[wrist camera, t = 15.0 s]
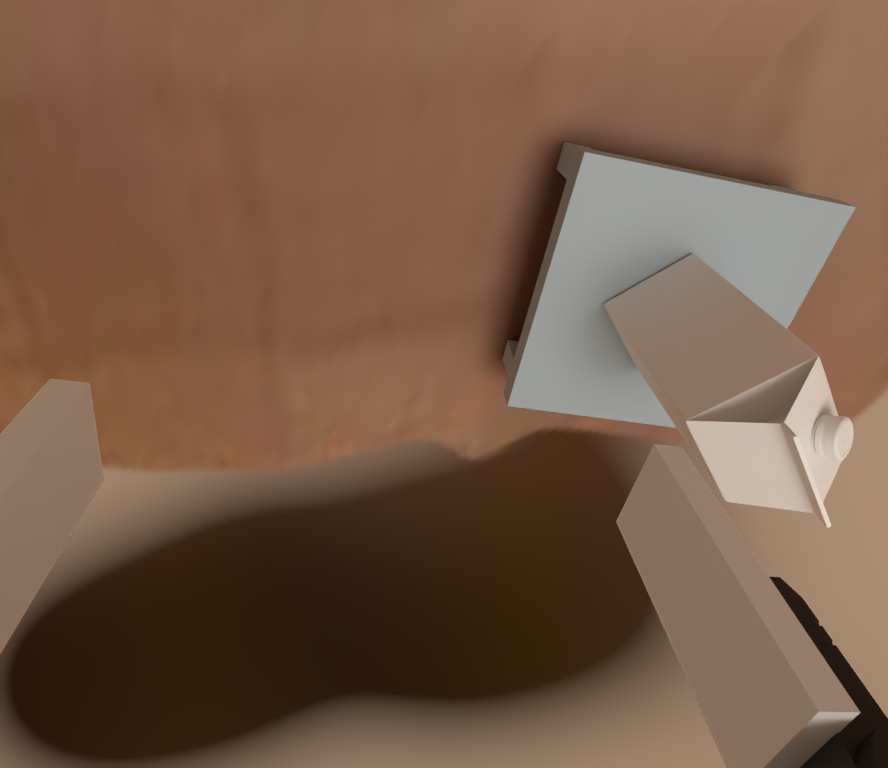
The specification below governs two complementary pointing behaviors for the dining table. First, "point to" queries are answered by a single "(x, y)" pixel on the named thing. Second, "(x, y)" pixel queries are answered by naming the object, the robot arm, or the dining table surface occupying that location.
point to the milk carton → (735, 387)
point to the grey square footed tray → (652, 270)
